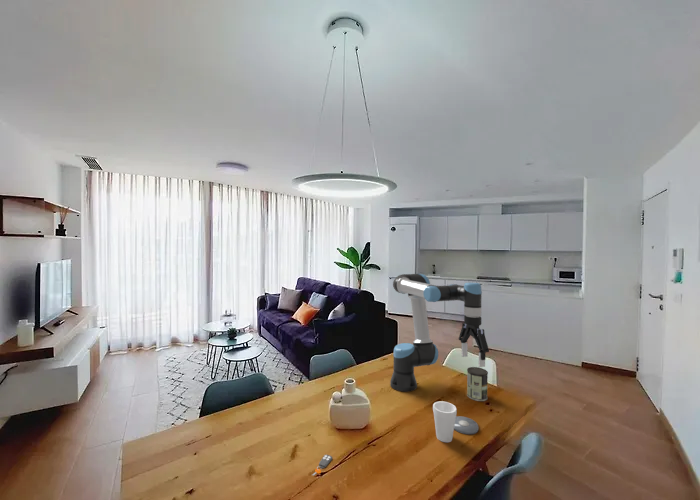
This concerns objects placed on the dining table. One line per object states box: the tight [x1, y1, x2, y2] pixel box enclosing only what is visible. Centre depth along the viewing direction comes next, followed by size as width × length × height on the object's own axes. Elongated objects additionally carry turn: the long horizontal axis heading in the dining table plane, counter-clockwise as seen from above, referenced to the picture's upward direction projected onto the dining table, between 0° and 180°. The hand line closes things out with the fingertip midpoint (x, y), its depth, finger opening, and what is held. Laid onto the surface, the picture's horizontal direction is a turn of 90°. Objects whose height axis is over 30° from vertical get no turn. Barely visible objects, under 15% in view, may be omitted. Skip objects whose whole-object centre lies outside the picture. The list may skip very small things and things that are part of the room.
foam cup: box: [432, 400, 458, 443], centre depth 129 cm, size 10×9×13 cm
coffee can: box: [466, 366, 489, 402], centre depth 165 cm, size 10×10×14 cm
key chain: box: [312, 454, 333, 477], centre depth 110 cm, size 13×4×2 cm, turn 157°
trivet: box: [454, 415, 479, 435], centre depth 137 cm, size 12×12×1 cm
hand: (472, 361), depth 143 cm, fingers open, 13 cm apart
